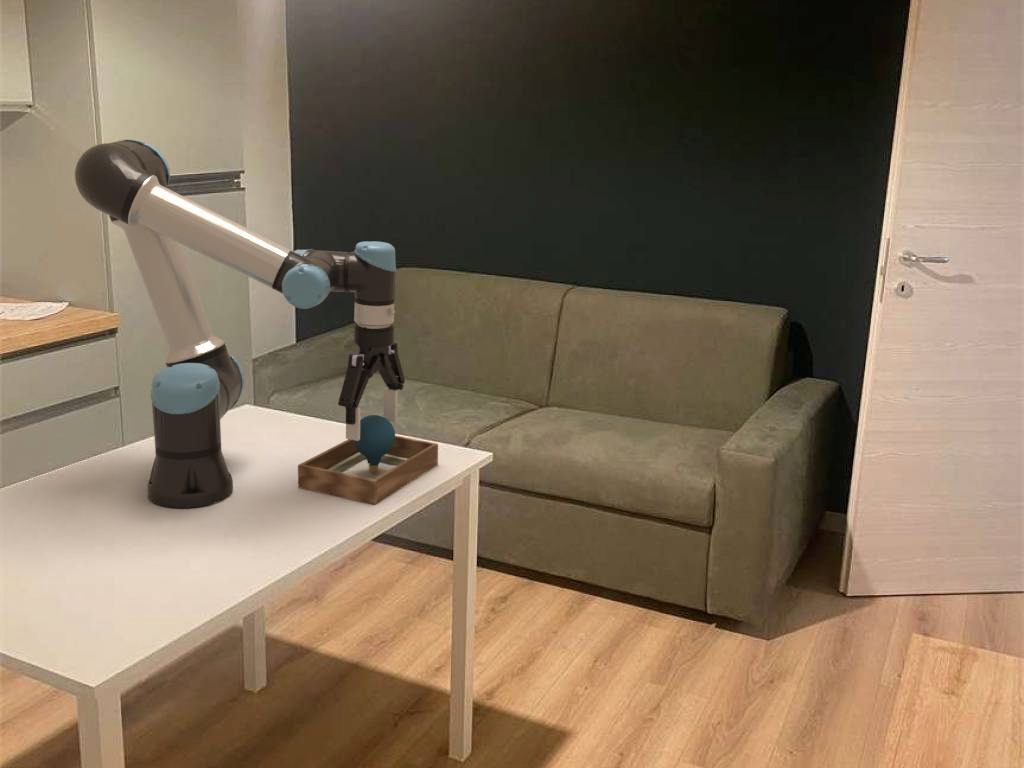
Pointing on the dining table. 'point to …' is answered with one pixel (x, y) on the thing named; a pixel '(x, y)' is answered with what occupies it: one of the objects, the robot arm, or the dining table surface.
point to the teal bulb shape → (375, 439)
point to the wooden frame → (330, 479)
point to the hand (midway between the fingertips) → (372, 429)
